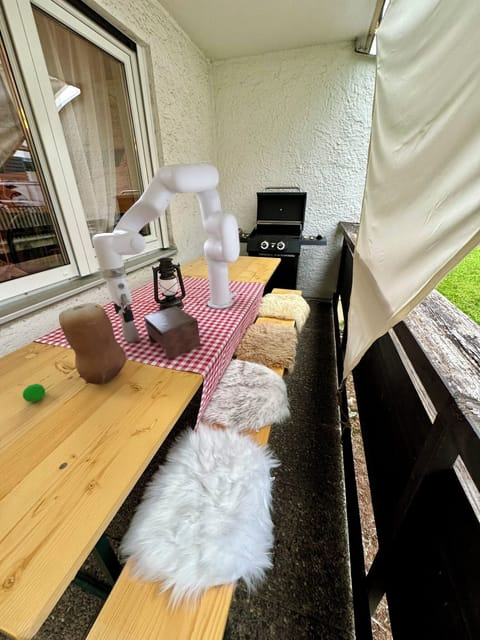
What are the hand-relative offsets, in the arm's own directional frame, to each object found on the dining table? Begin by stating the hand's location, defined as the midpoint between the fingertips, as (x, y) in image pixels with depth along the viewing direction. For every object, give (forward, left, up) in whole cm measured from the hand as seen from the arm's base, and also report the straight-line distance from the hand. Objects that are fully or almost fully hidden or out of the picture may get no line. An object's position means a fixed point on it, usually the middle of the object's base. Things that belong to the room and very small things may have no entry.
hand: (124, 316), depth 95 cm
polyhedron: (+32, +13, -10) cm, 36 cm away
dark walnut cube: (-11, +14, -10) cm, 21 cm away
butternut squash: (+14, +17, -10) cm, 24 cm away
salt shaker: (0, 0, -10) cm, 10 cm away
